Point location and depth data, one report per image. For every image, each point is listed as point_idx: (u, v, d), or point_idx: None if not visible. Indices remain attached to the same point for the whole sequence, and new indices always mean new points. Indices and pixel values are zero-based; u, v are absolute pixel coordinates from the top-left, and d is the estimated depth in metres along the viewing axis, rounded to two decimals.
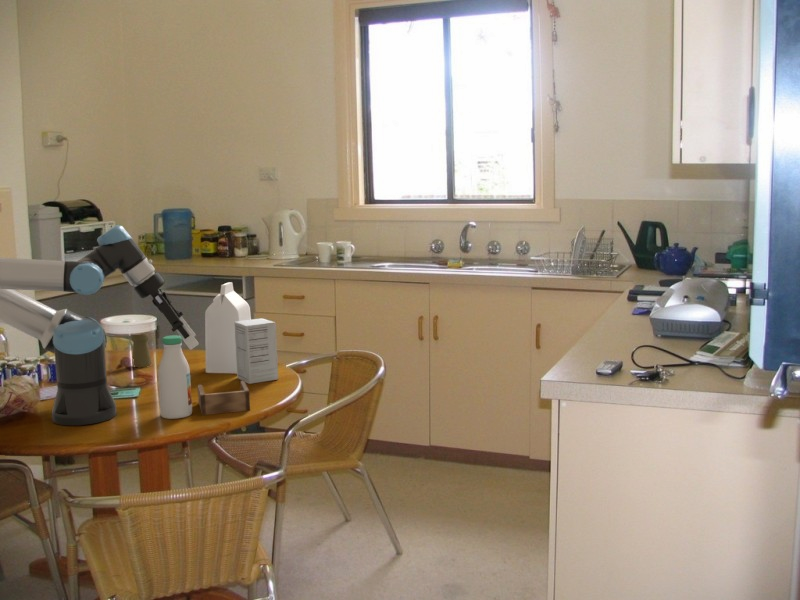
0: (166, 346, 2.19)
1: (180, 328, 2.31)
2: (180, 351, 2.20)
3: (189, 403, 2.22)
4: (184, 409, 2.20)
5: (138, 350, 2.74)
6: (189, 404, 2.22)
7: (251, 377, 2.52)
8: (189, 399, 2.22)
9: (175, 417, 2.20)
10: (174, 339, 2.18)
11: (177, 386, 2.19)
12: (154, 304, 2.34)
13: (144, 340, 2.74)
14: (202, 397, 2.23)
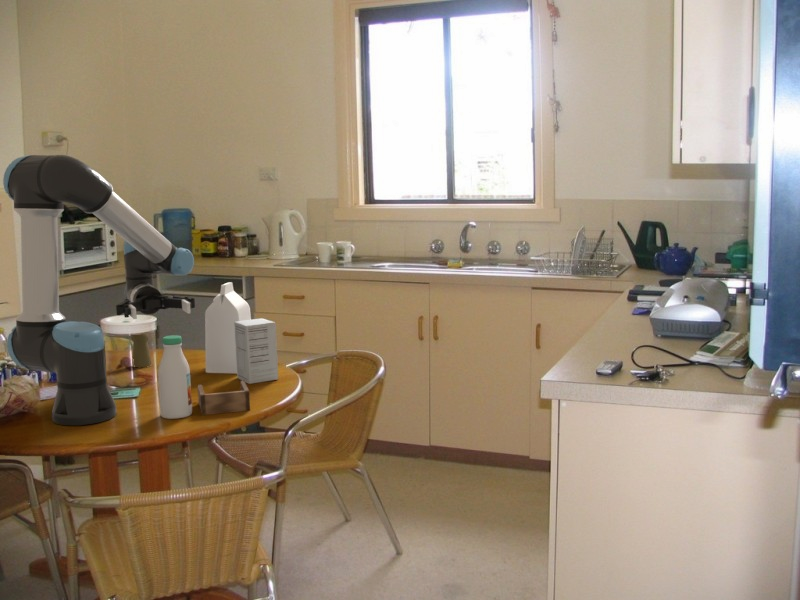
0: (166, 346, 2.19)
1: None
2: (180, 351, 2.20)
3: (189, 403, 2.22)
4: (184, 409, 2.20)
5: (138, 350, 2.74)
6: (189, 404, 2.22)
7: (251, 377, 2.52)
8: (189, 399, 2.22)
9: (175, 417, 2.20)
10: (174, 339, 2.18)
11: (177, 386, 2.19)
12: (159, 295, 2.42)
13: (144, 340, 2.74)
14: (202, 397, 2.23)
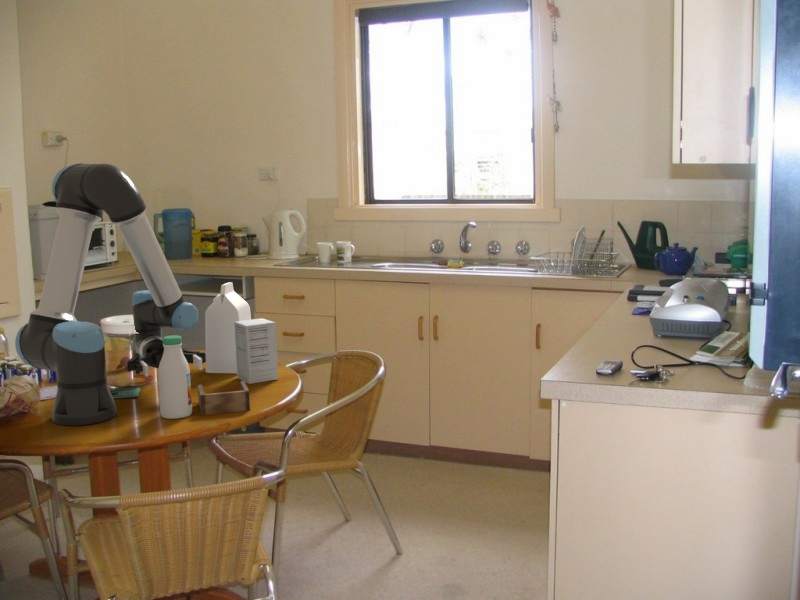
0: (166, 346, 2.19)
1: None
2: (180, 351, 2.20)
3: (189, 403, 2.22)
4: (184, 409, 2.20)
5: None
6: (189, 404, 2.22)
7: (251, 377, 2.52)
8: (189, 399, 2.22)
9: (175, 417, 2.20)
10: (174, 339, 2.18)
11: (177, 386, 2.19)
12: None
13: None
14: (202, 397, 2.23)
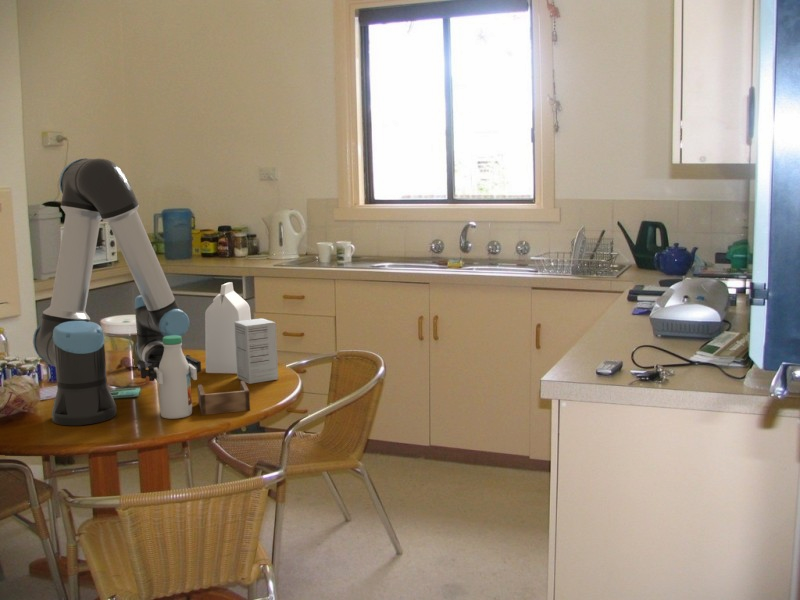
0: (166, 346, 2.19)
1: None
2: (180, 351, 2.20)
3: (189, 403, 2.22)
4: (184, 409, 2.20)
5: None
6: (189, 404, 2.22)
7: (251, 377, 2.52)
8: (189, 399, 2.22)
9: (175, 417, 2.20)
10: (174, 339, 2.18)
11: (177, 386, 2.19)
12: None
13: None
14: (202, 397, 2.23)
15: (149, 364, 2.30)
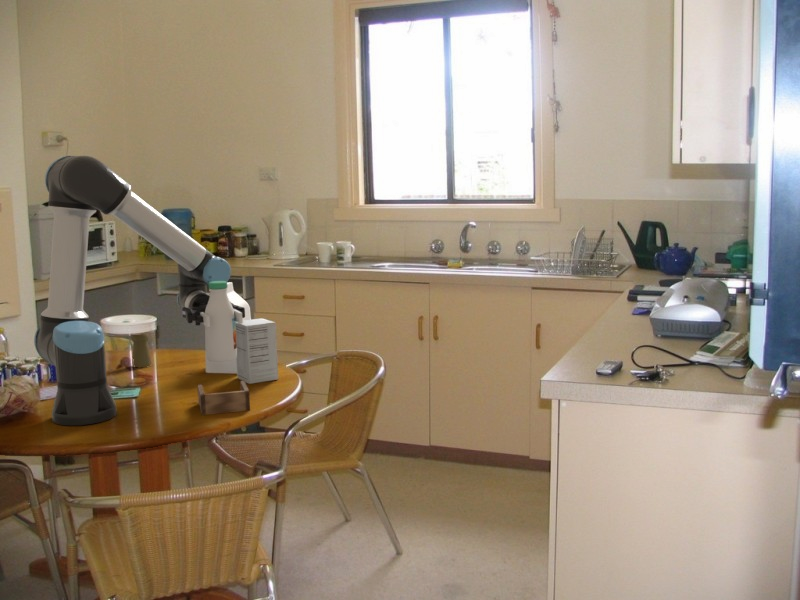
0: (212, 290, 2.24)
1: None
2: (226, 296, 2.25)
3: (234, 347, 2.27)
4: (230, 352, 2.26)
5: (138, 350, 2.74)
6: (234, 348, 2.27)
7: (251, 377, 2.52)
8: (234, 343, 2.27)
9: (221, 360, 2.25)
10: (220, 284, 2.24)
11: (223, 330, 2.24)
12: None
13: (144, 340, 2.74)
14: (202, 397, 2.23)
15: (193, 311, 2.35)
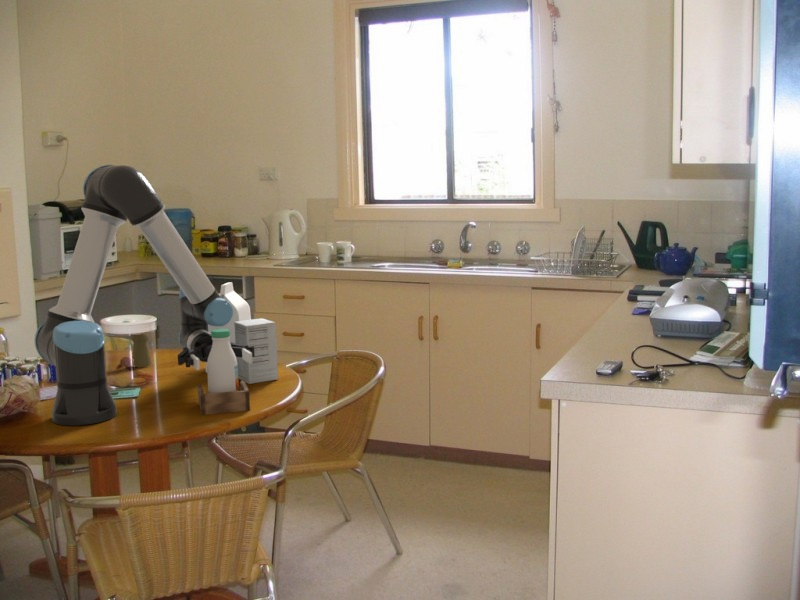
0: (215, 339, 2.26)
1: None
2: (228, 344, 2.27)
3: None
4: None
5: (138, 350, 2.74)
6: None
7: (251, 377, 2.52)
8: (237, 390, 2.29)
9: None
10: (223, 332, 2.26)
11: (226, 378, 2.26)
12: None
13: (144, 340, 2.74)
14: (202, 397, 2.23)
15: None
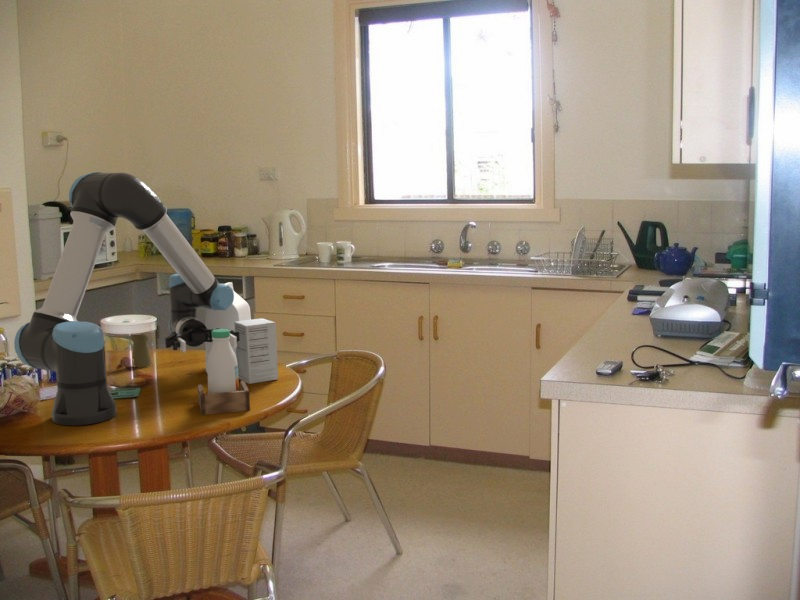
0: (215, 339, 2.26)
1: None
2: (228, 344, 2.27)
3: None
4: None
5: (138, 350, 2.74)
6: None
7: (251, 377, 2.52)
8: None
9: None
10: (223, 332, 2.26)
11: (226, 378, 2.26)
12: (205, 328, 2.51)
13: (144, 340, 2.74)
14: (202, 397, 2.23)
15: None
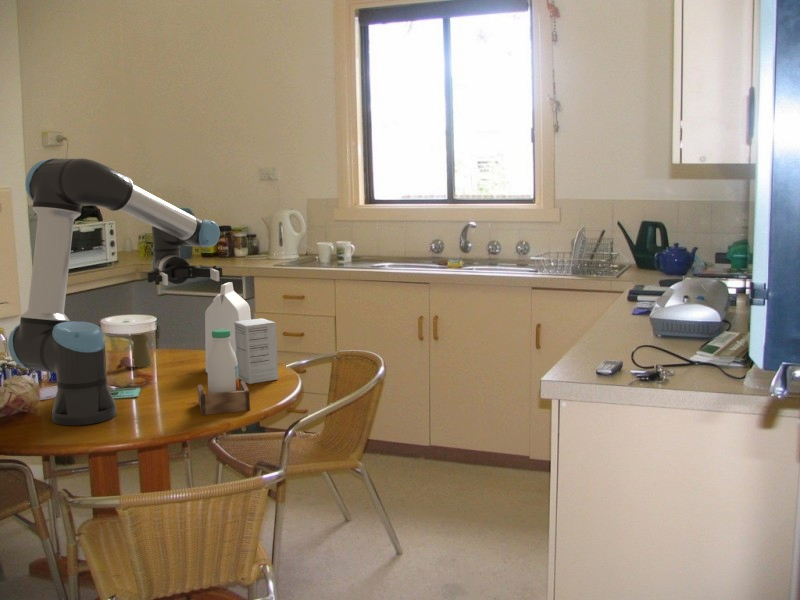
0: (215, 339, 2.26)
1: None
2: (229, 344, 2.27)
3: None
4: None
5: (138, 350, 2.74)
6: None
7: (251, 377, 2.52)
8: None
9: None
10: (223, 332, 2.26)
11: (226, 378, 2.26)
12: (187, 264, 2.50)
13: (144, 340, 2.74)
14: (202, 397, 2.23)
15: None
